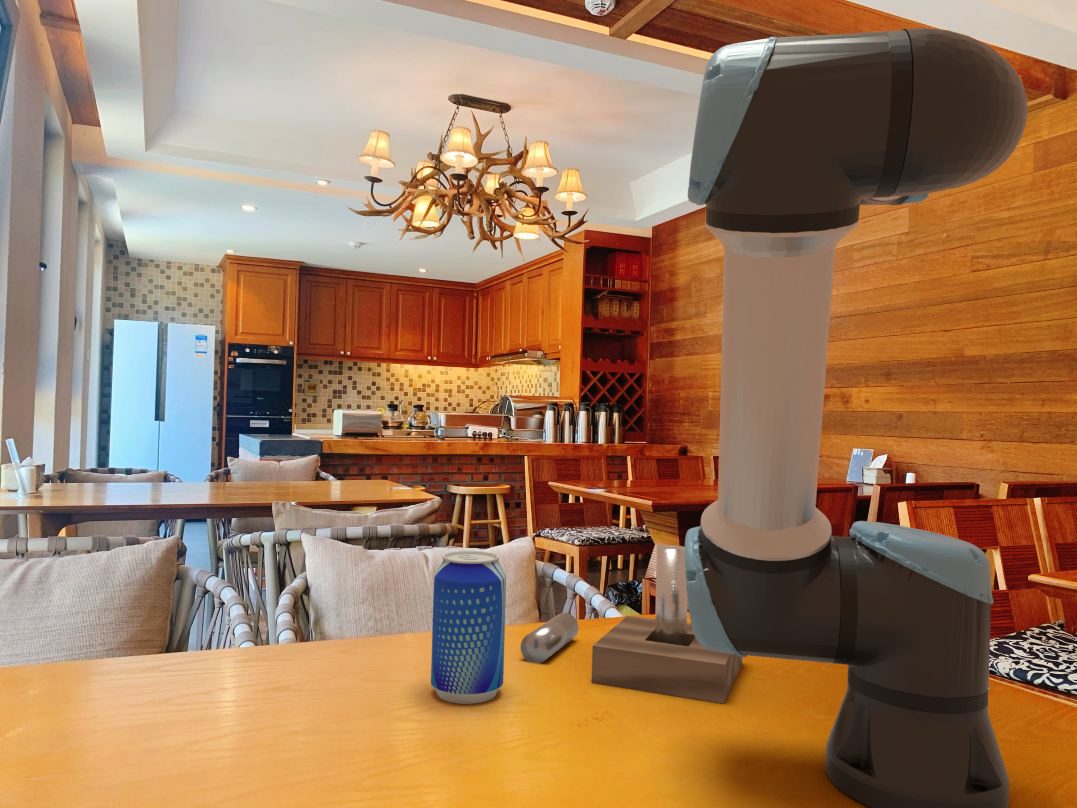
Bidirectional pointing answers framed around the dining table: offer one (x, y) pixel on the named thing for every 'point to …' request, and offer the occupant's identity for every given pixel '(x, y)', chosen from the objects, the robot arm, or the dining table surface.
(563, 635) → the lying peg
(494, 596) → the beer can
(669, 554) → the peg
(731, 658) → the socket block
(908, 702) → the robot arm
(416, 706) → the dining table surface
